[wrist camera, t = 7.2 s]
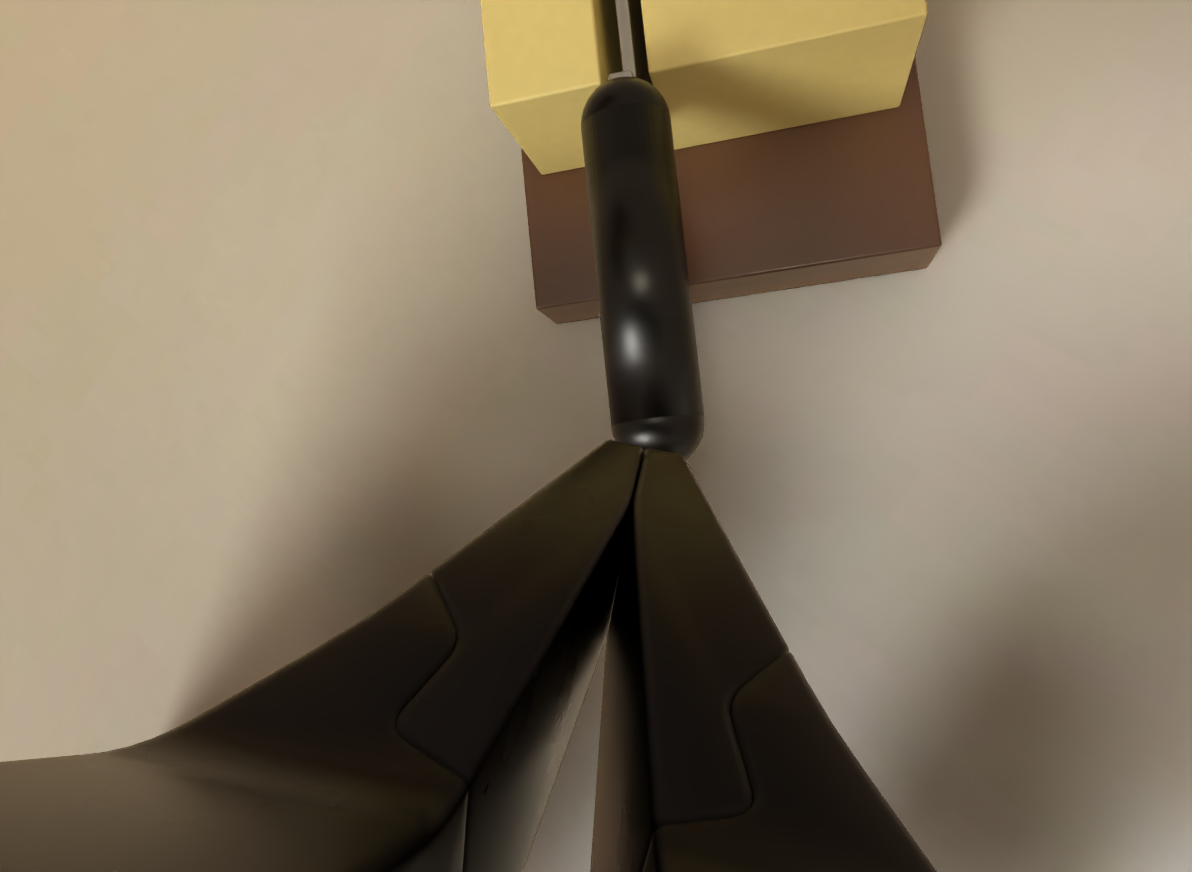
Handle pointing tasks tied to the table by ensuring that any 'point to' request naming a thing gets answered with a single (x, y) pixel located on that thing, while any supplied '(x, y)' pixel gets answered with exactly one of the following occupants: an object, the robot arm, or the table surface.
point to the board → (763, 211)
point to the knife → (641, 254)
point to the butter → (697, 65)
